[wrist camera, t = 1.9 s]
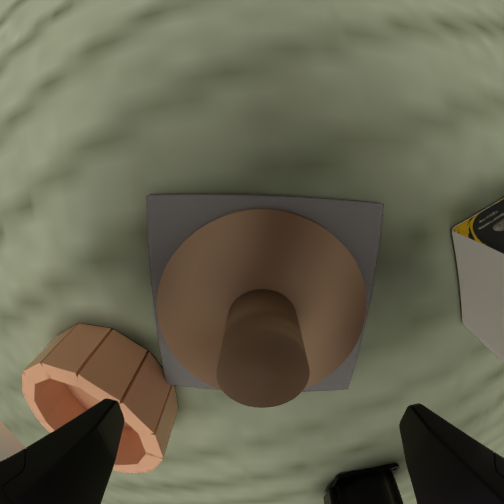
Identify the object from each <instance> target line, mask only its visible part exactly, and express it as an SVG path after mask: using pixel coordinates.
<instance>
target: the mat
mask: <svg viewBox="0 0 504 504" xmlns="http://www.w3.org/2000/svg"><path fill="white" fill-rule="evenodd" d="M146 200H147V227H148V245H149V259H150V271H151V282H152V292H153V301H154V309H155V317H156V325H157V332H158V339H159V346H160V352H161V358H162V364H163V369H164V375H165V380H166V382H167V383H168V384H169V385H176V386H184V387H194V388H204V389H216V390H219V389H217V388H214V387H212V386H210V385H208V384H206V383H205V382H203V381H201V380H200V379H198V378H197V377H195V376H194V375H192V374H191V373H190V372H189V371H188V370H187V369H186V368H184V367H183V366H182V364H181V363H180V362H179V361H178V360H177V359H176V358H175V356H174V355H173V353H172V352H171V351H170V349H169V347H168V346H167V344H166V342H165V340H164V338H163V335H162V332H161V329H160V326H159V321H158V316H157V293H158V287H159V283H160V280H161V277H162V274H163V272H164V269H165V267H166V265H167V263H168V262H169V260H170V259H171V257H172V255H173V254H174V253H175V252H176V250H177V249H178V248H179V247H180V246H181V244H182V243H183V242H184V241H185V240H186V239H187V238H188V237H189V236H191V235H192V234H193V233H194V232H195V231H196V230H197V229H199V228H200V227H202V226H203V225H205V224H206V223H208V222H210V221H212V220H214V219H216V218H218V217H220V216H222V215H225V214H229V213H232V212H235V211H240V210H245V209H252V208H271V209H281V210H285V211H289V212H293V213H297V214H299V215H302V216H304V217H307V218H309V219H311V220H313V221H315V222H316V223H318V224H320V225H321V226H323V227H324V228H325V229H327V230H328V231H329V232H331V233H332V234H333V235H334V236H335V237H336V238H337V239H338V240H339V241H340V242H341V243H342V244H343V245H344V246H345V247H346V248H347V249H348V251H349V252H350V254H351V255H352V256H353V258H354V259H355V261H356V263H357V265H358V267H359V269H360V271H361V274H362V277H363V280H364V283H365V289H366V295H367V310H366V317H367V312H368V307H369V302H370V297H371V292H372V287H373V281H374V275H375V269H376V263H377V256H378V249H379V242H380V234H381V226H382V217H383V206H384V204H381V203H375V202H364V201H352V200H339V199H325V198H309V197H291V196H268V195H234V194H151V195H147V196H146ZM365 321H366V318H365ZM364 326H365V323H364ZM364 326H363V329H362V333H361V335H360V337H359V339H358V342H357V344H356V345H355V347H354V348H353V350H352V352H351V353H350V354H349V356H348V357H347V358H346V360H345V361H344V362H343V363H342V364H341V365H340V366H339V367H338V368H337V369H336V370H335V371H334V372H332V373H331V374H330V375H328V376H327V377H326V378H324V379H323V380H321V381H319V382H318V383H316V384H314V385H312V386H310V387H308V388H306V389H303V391H302V392H304V391H328V390H343V389H348V387H349V384H350V380H351V377H352V373H353V370H354V366H355V362H356V359H357V355H358V351H359V347H360V343H361V339H362V335H363V330H364Z"/></svg>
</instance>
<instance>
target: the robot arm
mask: <svg viewBox="0 0 504 504" xmlns="http://www.w3.org/2000/svg"><path fill="white" fill-rule="evenodd" d="M123 427H124V416H123V413H122V410H121V408H120V405H119V403H118V401H116V400H113V399H108V398H105V399H103V400H102V401H100V402H99V403H97V404H95V405H94V406H92V407H91V408H89V409H88V410H86V411H85V412H83V413H82V414H80V415H78V416H77V417H75V418H74V419H72V420H71V421H69V422H67V423H66V424H64V425H63V426H61V427H59V428H58V429H56V430H55V431H53V432H51V433H50V434H48V435H46V436H45V437H43V438H42V439H40V440H38V441H37V442H35V443H33V444H32V445H30V446H28V447H27V448H26V449H23V450H21V451H20V452H18V453H16V454H14V455H13V456H11V457H9V458H7V459H5V460H3V461H0V504H101V501H102V498H103V495H104V492H105V489H106V486H107V483H108V481H109V478H110V475H111V472H112V469H113V467H114V464H115V460H116V456H117V452H118V448H119V443H120V439H121V435H122V431H123ZM400 433H401V438H402V443H403V448H404V454H405V459H406V464H407V468H408V471H409V475H410V478H411V482H412V485H413V489H414V493H415V496H416V500H417V504H504V458H503V457H501V456H500V455H498V454H497V453H495V452H494V453H493V451H492V450H490V449H489V448H487V447H485V446H484V445H482V444H481V443H479V442H478V441H476V440H475V439H473V438H471V437H470V436H468V435H467V434H465V433H464V432H462V431H461V430H459V429H458V428H456V427H455V426H453V425H452V424H450V423H449V422H447V421H446V420H444V419H443V418H441V417H440V416H438V415H437V414H435V413H434V412H432V411H431V410H429V409H428V408H426V407H425V406H423V405H422V404H413V405H410V406H408V407H407V409H406V411H405V413H404V415H403V417H402V419H401V421H400ZM398 469H399V465H398V464H392V465H388V466H384V467H379V468H374V469H369V470H363V471H358V472H351V473H345V474H340V475H338V476H337V477H336V479H335V480H334V482H333V484H332V486H331V487H330V488H329V489H328V491H327V493H326V495H325V496H324V504H403V501H402V498H401V495H400V492H399V489H398V486H397V483H396V480H395V477H394V474H395V473H396V472H397V470H398Z"/></svg>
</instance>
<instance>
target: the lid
mask: <svg viewBox="0 0 504 504" xmlns="http://www.w3.org/2000/svg"><path fill="white" fill-rule="evenodd" d="M366 310H367V295H366V289H365V283H364V280H363V277H362V274H361V271H360V269H359V267H358V265H357V263H356V261H355V259H354V258H353V256H352V255H351V254H350V252H349V251H348V249H347V248H346V247H345V246H344V245H343V244H342V243H341V242H340V241H339V240H338V239H337V238H336V237H335V236H334V235H333V234H332V233H331V232H329V231H328V230H327V229H325V228H324V227H323V226H321V225H320V224H318V223H316V222H315V221H313V220H311V219H309V218H307V217H304V216H302V215H299V214H297V213H293V212H289V211H285V210H281V209H271V208H252V209H245V210H240V211H235V212H232V213H229V214H225V215H222V216H220V217H218V218H216V219H214V220H212V221H210V222H208V223H206V224H205V225H203V226H202V227H200V228H199V229H197V230H196V231H195V232H194V233H193V234H192V235H191V236H189V237H188V238H187V239H186V240H185V241H184V242H183V243H182V244H181V246H180V247H179V248H178V249H177V250H176V252H175V253H174V254H173V255H172V257H171V259H170V260H169V262H168V263H167V265H166V267H165V269H164V272H163V274H162V277H161V280H160V283H159V287H158V293H157V316H158V321H159V326H160V329H161V332H162V335H163V338H164V340H165V342H166V344H167V346H168V347H169V349H170V351H171V352H172V353H173V355H174V356H175V358H176V359H177V360H178V361H179V362H180V363H181V364H182V366H183V367H184V368H186V369H187V370H188V371H189V372H190V373H191V374H192V375H194V376H195V377H197V378H198V379H200V380H201V381H203V382H205V383H206V384H208V385H210V386H212V387H214V388H217V389H219V390H222V391H223V392H224V393H225V394H226V395H227V396H229V397H230V398H231V399H233V400H235V401H236V402H239V403H241V404H244V405H247V406H252V407H273V406H278V405H281V404H284V403H286V402H288V401H290V400H292V399H294V398H295V397H296V396H298V395H299V394H300V393H301V392H302V391H303V389H306V388H308V387H310V386H312V385H314V384H316V383H318V382H319V381H321V380H323V379H324V378H326V377H327V376H328V375H330V374H331V373H332V372H334V371H335V370H336V369H337V368H338V367H339V366H340V365H341V364H342V363H343V362H344V361H345V360H346V358H347V357H348V356H349V354H350V353H351V352H352V350H353V348H354V347H355V345H356V344H357V342H358V339H359V337H360V335H361V333H362V329H363V326H364V323H365V318H366Z"/></svg>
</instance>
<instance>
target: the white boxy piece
mask: <svg viewBox="0 0 504 504" xmlns="http://www.w3.org/2000/svg"><path fill="white" fill-rule="evenodd" d="M452 237H453V243H454V249H455V255H456V262H457V269H458V277H459V286H460V296H461V309H462V323H463V325H464V326H465V327H466V328H467V329H468V330H469V331H470V332H471V333H473V334H474V335H475V336H476V337H477V338H478V339H479V340H480V341H481V342H482V343H483V344H484V345H485V346H486V347H487V348H488V349H489V350H490V351H491V352H492V353H493V354H494V355H495V356H496V357H497V358H498V359H499V360H500V361H501V362H502V363H503V364H504V198H502V199H501V200H499V201H497V202H496V203H494V204H492V205H491V206H489V207H487V208H486V209H484V210H482V211H481V212H479V213H477V214H475V215H474V216H472V217H470V218H468V219H467V220H465V221H463V222H461V223H460V224H458V225H456V226H454V227H453V229H452Z"/></svg>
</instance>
